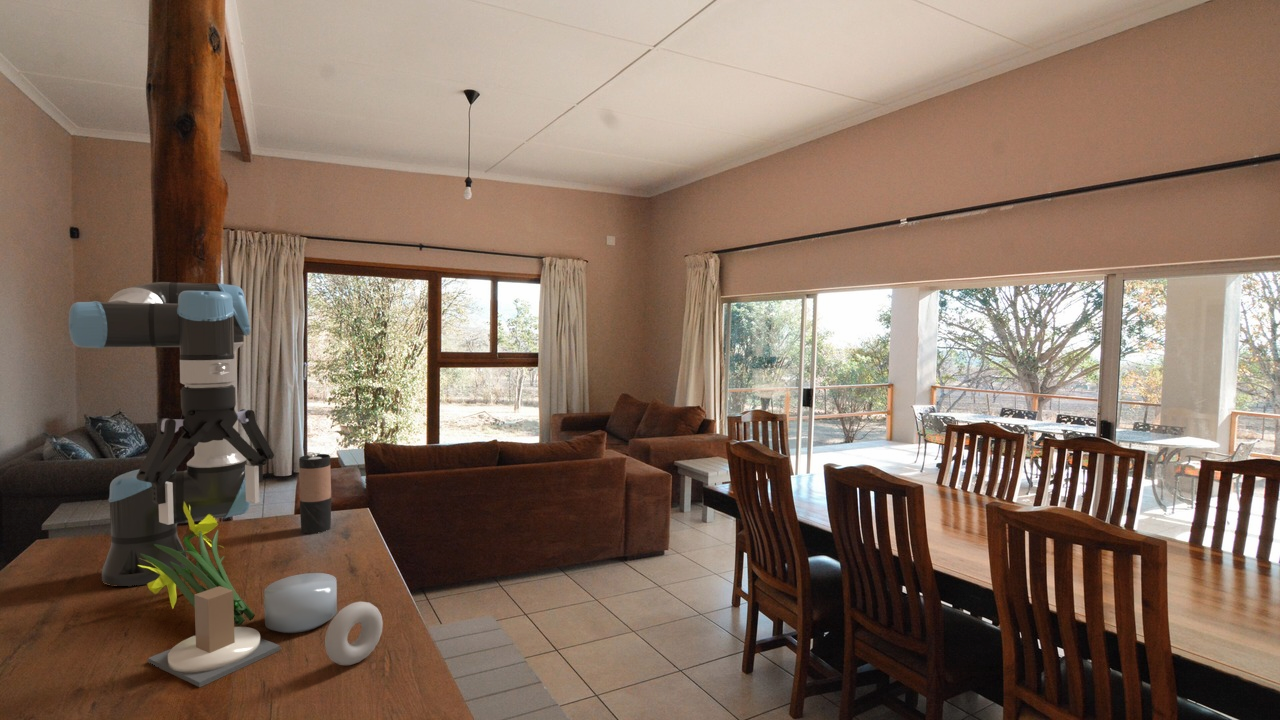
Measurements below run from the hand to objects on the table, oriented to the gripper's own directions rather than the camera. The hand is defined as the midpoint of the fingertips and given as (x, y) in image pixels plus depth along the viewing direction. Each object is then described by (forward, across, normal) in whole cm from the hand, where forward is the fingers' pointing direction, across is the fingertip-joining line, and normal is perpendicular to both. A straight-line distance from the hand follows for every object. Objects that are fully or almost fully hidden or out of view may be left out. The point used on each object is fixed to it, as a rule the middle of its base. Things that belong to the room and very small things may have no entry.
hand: (211, 512), depth 107 cm
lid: (+24, 0, 0) cm, 24 cm away
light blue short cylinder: (+25, +15, -1) cm, 29 cm away
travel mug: (+25, +51, +45) cm, 72 cm away
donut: (+25, +10, -22) cm, 35 cm away
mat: (+25, 0, 0) cm, 25 cm away
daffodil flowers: (+24, +10, +20) cm, 33 cm away
